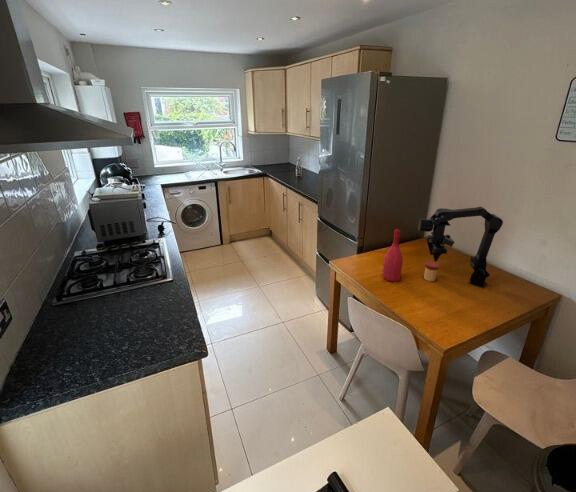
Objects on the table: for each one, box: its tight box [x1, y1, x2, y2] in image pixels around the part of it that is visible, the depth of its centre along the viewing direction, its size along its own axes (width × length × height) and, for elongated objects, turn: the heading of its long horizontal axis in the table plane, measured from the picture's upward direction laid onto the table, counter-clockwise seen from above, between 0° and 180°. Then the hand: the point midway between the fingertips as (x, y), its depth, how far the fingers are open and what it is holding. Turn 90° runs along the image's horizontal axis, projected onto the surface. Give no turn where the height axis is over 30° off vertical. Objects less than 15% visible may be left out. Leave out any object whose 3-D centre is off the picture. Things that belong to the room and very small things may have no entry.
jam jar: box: [423, 266, 439, 282], centre depth 171 cm, size 6×6×9 cm
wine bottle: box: [382, 228, 404, 283], centre depth 167 cm, size 10×10×30 cm
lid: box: [424, 261, 440, 271], centre depth 169 cm, size 7×7×2 cm
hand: (433, 258), depth 168 cm, fingers open, 8 cm apart
